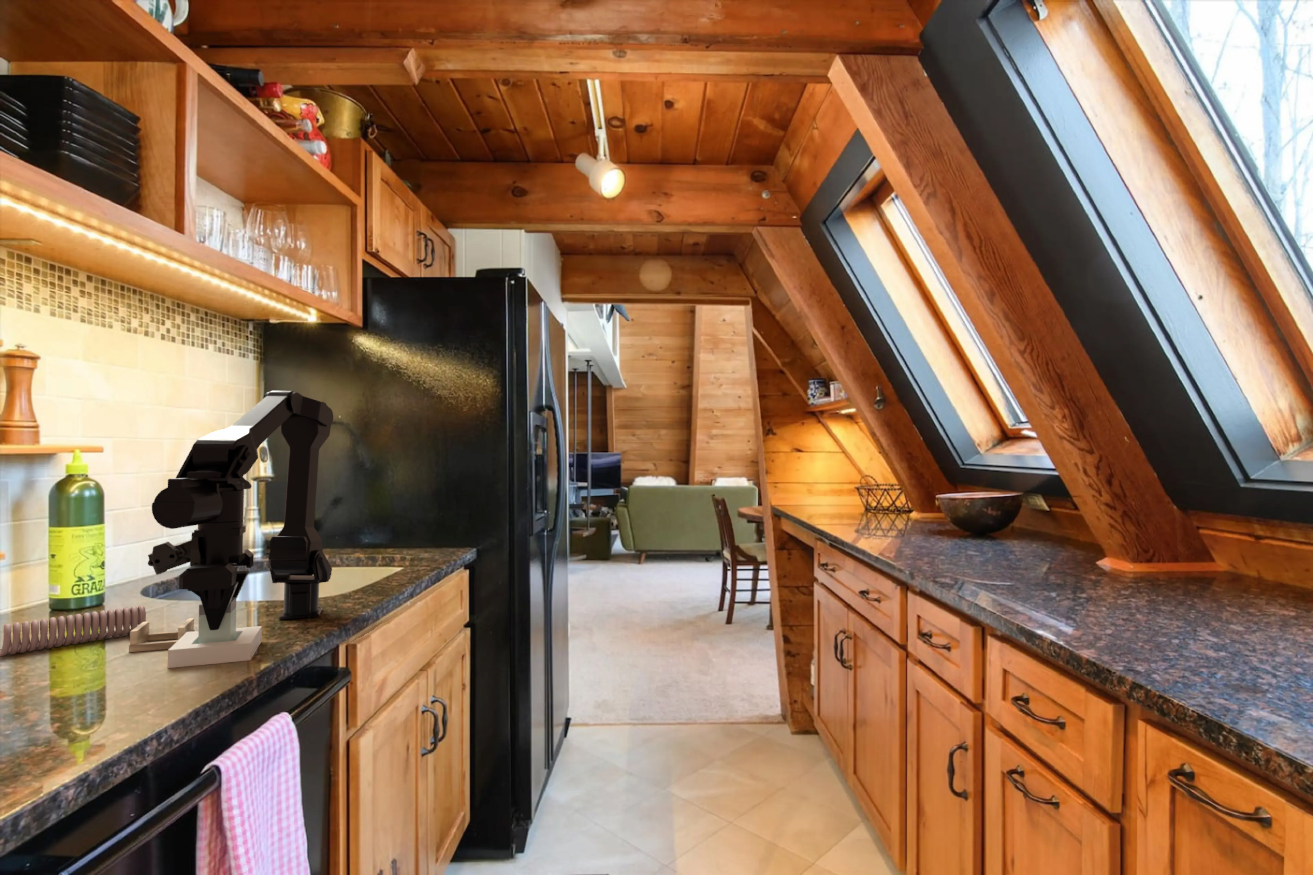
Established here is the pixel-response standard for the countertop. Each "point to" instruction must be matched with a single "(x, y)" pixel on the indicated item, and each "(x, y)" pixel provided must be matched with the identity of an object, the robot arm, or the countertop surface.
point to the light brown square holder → (156, 637)
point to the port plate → (214, 649)
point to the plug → (226, 628)
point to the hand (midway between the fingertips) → (218, 625)
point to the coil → (71, 629)
